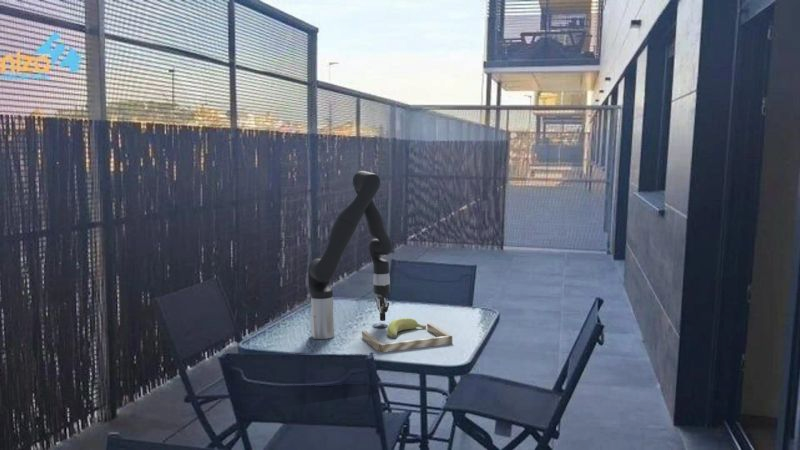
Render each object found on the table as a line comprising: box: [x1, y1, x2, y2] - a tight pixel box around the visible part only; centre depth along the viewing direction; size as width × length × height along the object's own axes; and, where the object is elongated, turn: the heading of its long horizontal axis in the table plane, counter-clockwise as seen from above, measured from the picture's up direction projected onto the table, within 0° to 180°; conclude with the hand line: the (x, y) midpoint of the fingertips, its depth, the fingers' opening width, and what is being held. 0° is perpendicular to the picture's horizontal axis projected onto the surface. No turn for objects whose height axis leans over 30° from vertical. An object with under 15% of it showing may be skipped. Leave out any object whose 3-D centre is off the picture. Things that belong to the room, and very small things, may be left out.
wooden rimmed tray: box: [361, 322, 453, 354], centre depth 286 cm, size 31×24×3 cm
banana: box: [387, 317, 427, 339], centre depth 299 cm, size 14×6×20 cm
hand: (382, 320), depth 314 cm, fingers closed
